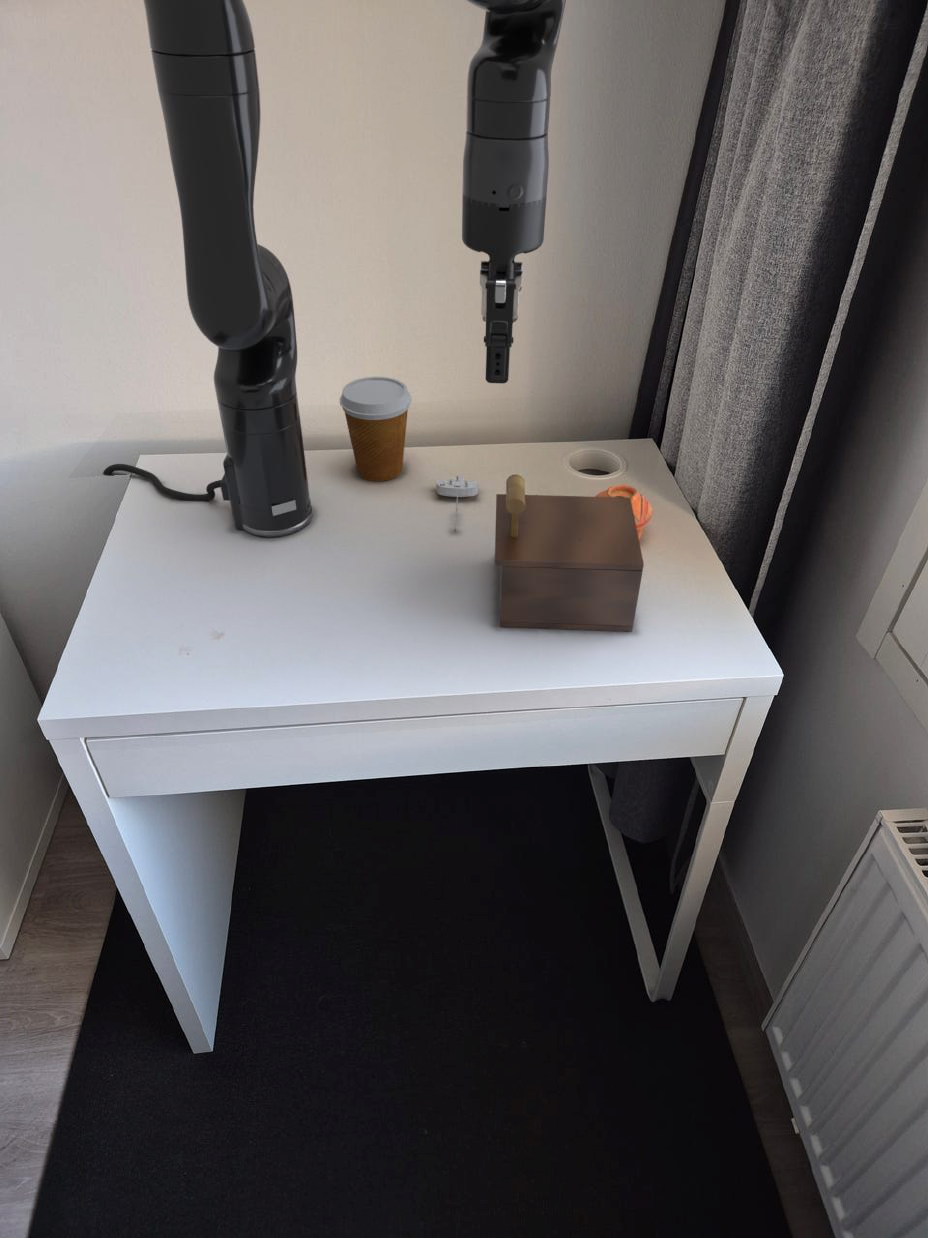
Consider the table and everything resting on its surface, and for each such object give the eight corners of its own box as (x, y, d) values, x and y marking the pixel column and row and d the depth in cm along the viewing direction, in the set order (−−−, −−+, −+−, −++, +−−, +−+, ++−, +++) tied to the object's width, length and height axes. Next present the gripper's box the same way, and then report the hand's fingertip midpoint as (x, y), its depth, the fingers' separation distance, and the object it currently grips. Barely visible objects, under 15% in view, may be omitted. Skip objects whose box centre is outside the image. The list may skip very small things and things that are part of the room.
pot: (606, 556, 106) (605, 503, 103) (579, 535, 112) (576, 485, 109) (664, 542, 108) (665, 490, 104) (634, 523, 114) (633, 474, 111)
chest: (499, 627, 96) (502, 566, 90) (500, 558, 106) (503, 499, 100) (632, 631, 95) (642, 570, 90) (620, 562, 105) (629, 503, 100)
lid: (494, 566, 90) (496, 519, 87) (496, 499, 100) (497, 455, 97) (642, 570, 90) (650, 523, 86) (629, 503, 100) (636, 458, 96)
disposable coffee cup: (337, 461, 124) (329, 381, 116) (400, 448, 127) (396, 370, 119) (358, 493, 117) (351, 411, 109) (423, 479, 120) (421, 398, 112)
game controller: (472, 481, 120) (473, 464, 118) (497, 526, 111) (498, 509, 110) (432, 486, 118) (432, 469, 117) (454, 532, 110) (454, 515, 108)
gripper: (466, 168, 83) (463, 335, 93) (458, 209, 72) (456, 393, 82) (544, 171, 82) (533, 337, 93) (549, 211, 71) (536, 396, 82)
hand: (497, 363), depth 87 cm, fingers open, 8 cm apart
